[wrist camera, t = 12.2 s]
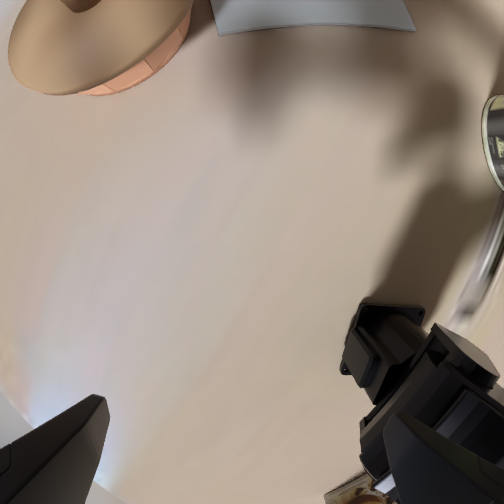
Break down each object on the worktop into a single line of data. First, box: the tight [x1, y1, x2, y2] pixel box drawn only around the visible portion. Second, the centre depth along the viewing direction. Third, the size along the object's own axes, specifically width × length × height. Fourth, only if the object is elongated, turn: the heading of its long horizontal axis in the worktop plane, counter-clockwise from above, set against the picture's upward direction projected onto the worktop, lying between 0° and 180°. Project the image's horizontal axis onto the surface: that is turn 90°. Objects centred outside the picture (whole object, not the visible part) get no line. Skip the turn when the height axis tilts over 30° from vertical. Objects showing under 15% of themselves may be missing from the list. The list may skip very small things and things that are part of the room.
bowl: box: [77, 6, 192, 96], centre depth 13 cm, size 11×11×4 cm
